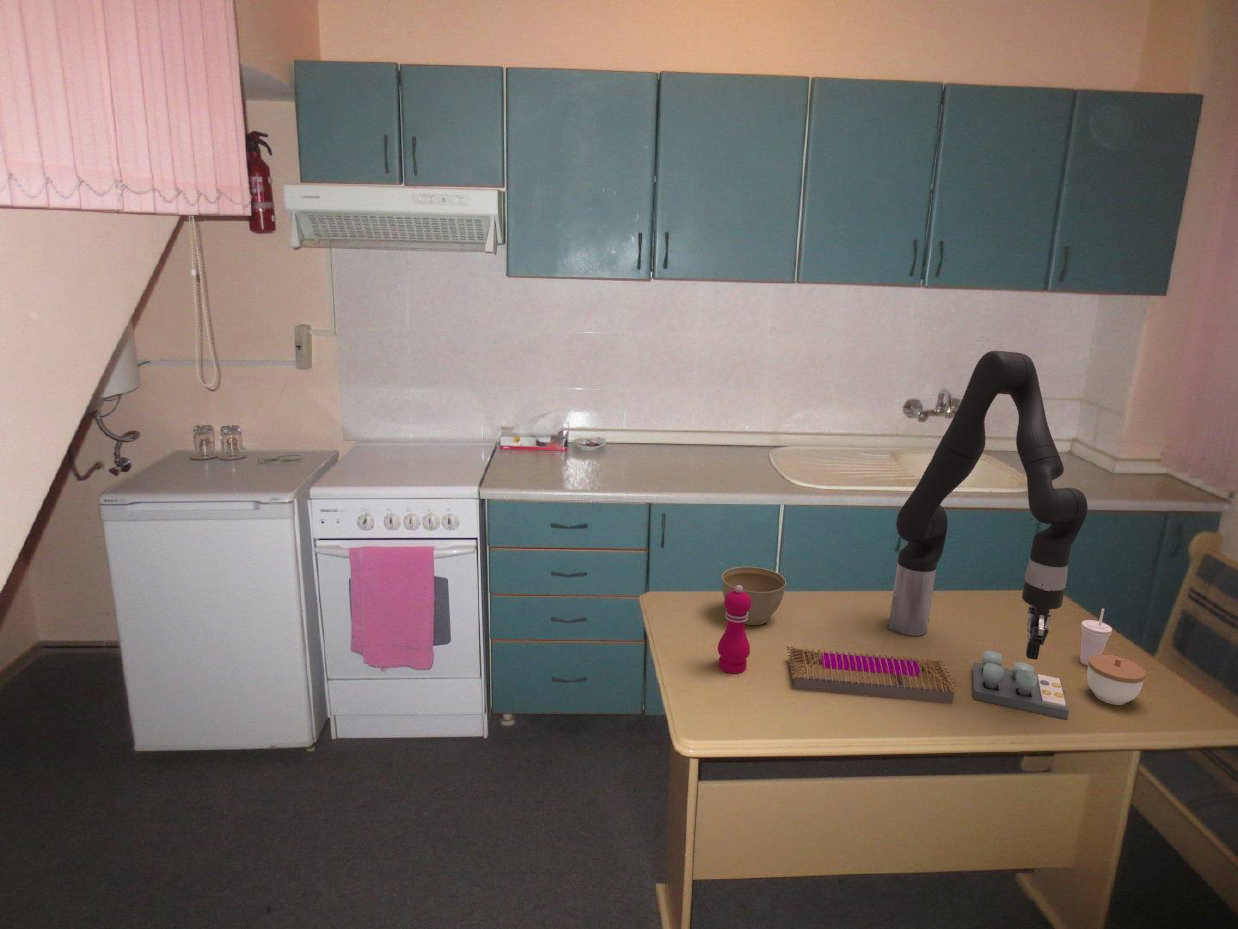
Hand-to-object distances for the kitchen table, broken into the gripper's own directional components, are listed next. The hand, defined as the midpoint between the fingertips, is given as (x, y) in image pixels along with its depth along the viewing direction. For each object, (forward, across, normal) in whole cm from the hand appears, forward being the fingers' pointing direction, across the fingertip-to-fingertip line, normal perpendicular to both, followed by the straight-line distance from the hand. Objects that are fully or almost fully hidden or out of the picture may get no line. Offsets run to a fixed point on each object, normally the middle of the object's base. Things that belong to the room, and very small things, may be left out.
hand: (1031, 657), depth 175 cm
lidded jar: (+11, -10, +18) cm, 23 cm away
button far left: (+8, -7, -7) cm, 13 cm away
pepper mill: (+10, +12, -61) cm, 63 cm away
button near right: (+9, 0, 0) cm, 9 cm away
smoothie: (+11, -26, +16) cm, 33 cm away
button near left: (+9, 0, -7) cm, 11 cm away
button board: (+10, -3, -1) cm, 11 cm away
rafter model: (+11, +6, -32) cm, 34 cm away
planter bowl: (+10, -14, -63) cm, 65 cm away
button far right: (+10, -7, 0) cm, 12 cm away
